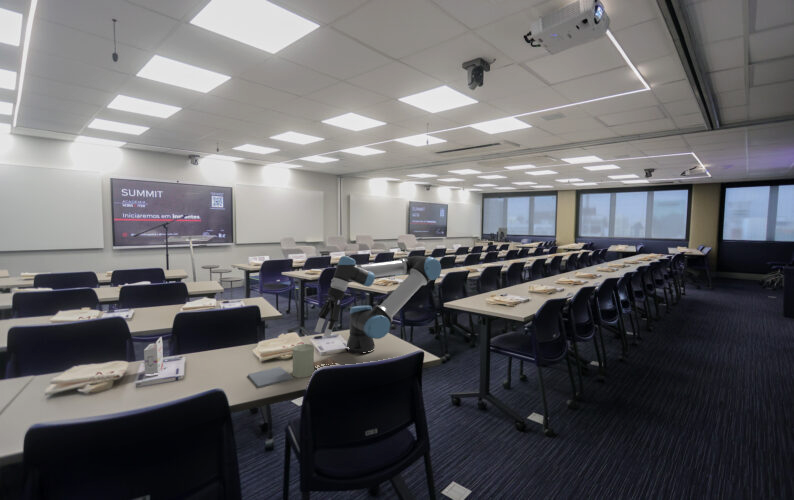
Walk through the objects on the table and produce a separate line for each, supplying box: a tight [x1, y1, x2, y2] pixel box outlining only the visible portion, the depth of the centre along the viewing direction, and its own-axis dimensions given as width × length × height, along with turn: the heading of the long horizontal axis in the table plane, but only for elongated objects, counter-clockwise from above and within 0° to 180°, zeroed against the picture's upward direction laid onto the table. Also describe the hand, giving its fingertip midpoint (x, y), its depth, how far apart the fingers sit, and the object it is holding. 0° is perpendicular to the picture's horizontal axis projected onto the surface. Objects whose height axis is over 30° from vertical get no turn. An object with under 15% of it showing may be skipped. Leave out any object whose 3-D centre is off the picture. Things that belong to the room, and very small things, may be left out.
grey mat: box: [247, 366, 294, 389], centre depth 146 cm, size 14×14×1 cm
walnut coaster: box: [314, 357, 338, 370], centre depth 160 cm, size 11×11×1 cm
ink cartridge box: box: [143, 336, 164, 375], centre depth 148 cm, size 9×5×15 cm, turn 22°
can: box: [291, 343, 315, 378], centre depth 151 cm, size 9×9×12 cm
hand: (321, 334), depth 154 cm, fingers open, 13 cm apart
